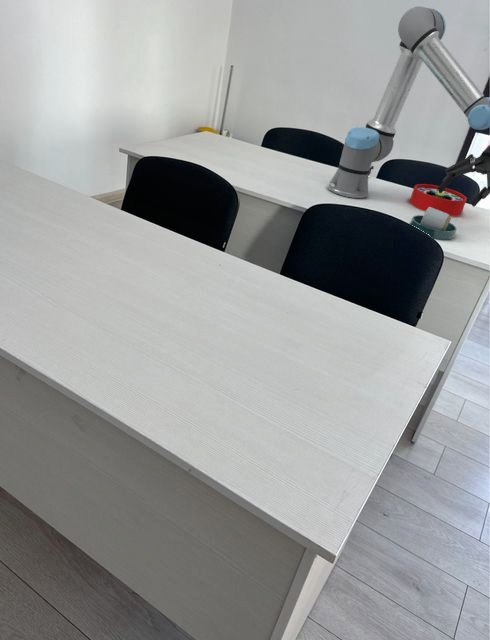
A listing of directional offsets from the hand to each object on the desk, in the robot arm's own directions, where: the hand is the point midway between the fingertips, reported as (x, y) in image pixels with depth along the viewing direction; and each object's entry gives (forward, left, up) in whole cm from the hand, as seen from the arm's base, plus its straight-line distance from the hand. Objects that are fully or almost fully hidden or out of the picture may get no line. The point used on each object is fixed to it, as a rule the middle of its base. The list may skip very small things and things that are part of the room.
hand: (455, 197), depth 197 cm
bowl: (+6, -4, -12) cm, 14 cm away
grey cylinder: (+6, -4, -12) cm, 13 cm away
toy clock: (-28, -5, -12) cm, 31 cm away
